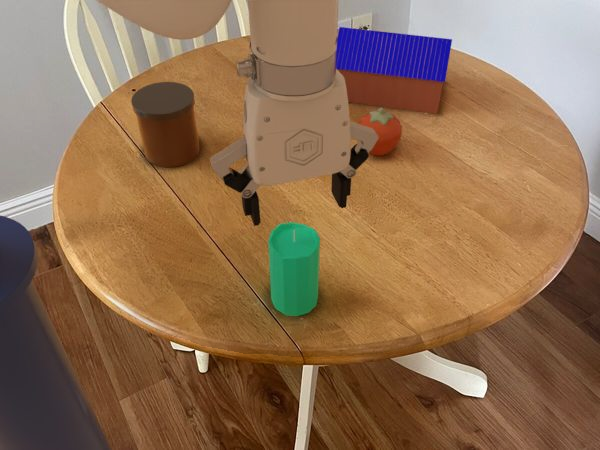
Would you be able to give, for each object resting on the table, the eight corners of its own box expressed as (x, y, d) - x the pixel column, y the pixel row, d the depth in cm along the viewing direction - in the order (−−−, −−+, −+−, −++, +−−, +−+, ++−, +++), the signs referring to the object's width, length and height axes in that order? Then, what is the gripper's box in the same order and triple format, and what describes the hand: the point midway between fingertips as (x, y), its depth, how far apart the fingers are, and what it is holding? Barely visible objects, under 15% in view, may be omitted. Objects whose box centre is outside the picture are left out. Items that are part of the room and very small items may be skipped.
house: (438, 114, 106) (450, 55, 98) (330, 100, 109) (332, 41, 101) (443, 82, 114) (454, 24, 106) (342, 69, 118) (345, 13, 110)
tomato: (389, 133, 101) (394, 93, 96) (406, 158, 96) (412, 117, 91) (348, 140, 100) (351, 99, 94) (363, 166, 95) (367, 124, 89)
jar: (146, 173, 93) (133, 118, 86) (140, 139, 100) (128, 86, 93) (205, 163, 95) (198, 108, 88) (196, 130, 102) (189, 78, 95)
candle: (262, 293, 75) (257, 225, 67) (300, 273, 78) (300, 205, 69) (288, 324, 72) (287, 256, 63) (327, 302, 74) (331, 234, 66)
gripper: (205, 102, 48) (225, 248, 60) (400, 71, 52) (383, 215, 63) (192, 60, 53) (213, 202, 65) (369, 35, 57) (359, 174, 69)
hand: (297, 208), depth 64 cm, fingers open, 9 cm apart
